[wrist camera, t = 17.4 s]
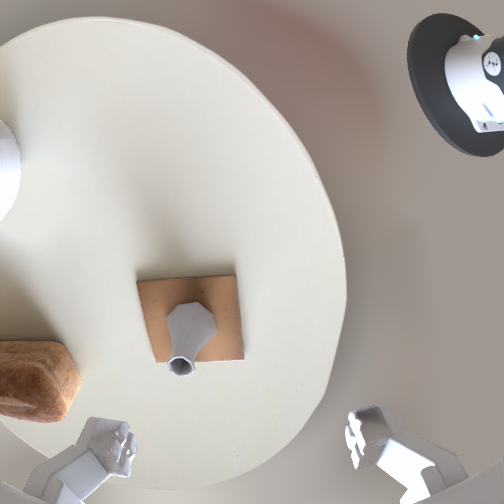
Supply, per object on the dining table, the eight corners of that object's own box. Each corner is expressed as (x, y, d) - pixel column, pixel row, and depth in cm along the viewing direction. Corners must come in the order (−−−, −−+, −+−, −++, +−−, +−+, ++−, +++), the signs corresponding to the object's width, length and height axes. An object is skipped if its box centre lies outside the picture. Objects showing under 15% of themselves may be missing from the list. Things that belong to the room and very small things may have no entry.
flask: (200, 293, 41) (189, 332, 31) (226, 333, 43) (223, 377, 33) (158, 313, 42) (138, 354, 32) (185, 350, 44) (173, 395, 34)
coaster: (235, 274, 41) (235, 275, 40) (244, 357, 45) (244, 360, 44) (137, 280, 41) (136, 282, 40) (157, 360, 45) (156, 362, 44)
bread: (94, 386, 47) (66, 440, 33) (6, 378, 47) (-24, 415, 33) (68, 332, 43) (27, 383, 29) (-17, 334, 43) (-54, 368, 30)
